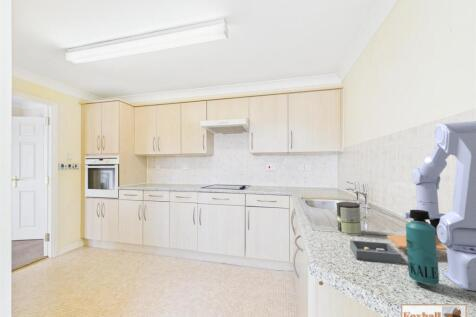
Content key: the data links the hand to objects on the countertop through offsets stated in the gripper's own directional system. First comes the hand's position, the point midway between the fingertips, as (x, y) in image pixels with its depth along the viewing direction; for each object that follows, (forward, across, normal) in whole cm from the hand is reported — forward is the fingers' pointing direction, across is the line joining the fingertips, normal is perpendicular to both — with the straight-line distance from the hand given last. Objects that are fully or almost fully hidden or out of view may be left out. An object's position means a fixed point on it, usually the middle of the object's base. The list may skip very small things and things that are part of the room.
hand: (430, 239), depth 75 cm
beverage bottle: (+5, +13, +24) cm, 28 cm away
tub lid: (+2, +5, 0) cm, 5 cm away
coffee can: (+6, +23, -21) cm, 31 cm away
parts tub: (+5, +20, +6) cm, 21 cm away
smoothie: (+6, -3, -17) cm, 18 cm away
